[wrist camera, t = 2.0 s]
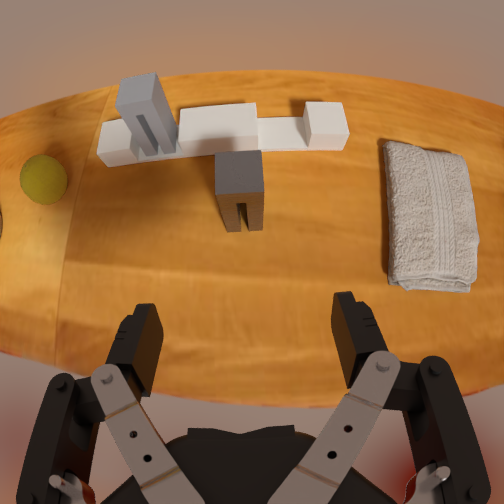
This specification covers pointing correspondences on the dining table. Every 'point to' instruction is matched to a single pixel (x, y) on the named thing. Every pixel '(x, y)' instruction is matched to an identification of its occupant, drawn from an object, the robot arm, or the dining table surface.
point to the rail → (208, 127)
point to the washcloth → (430, 219)
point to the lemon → (43, 179)
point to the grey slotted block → (240, 188)
